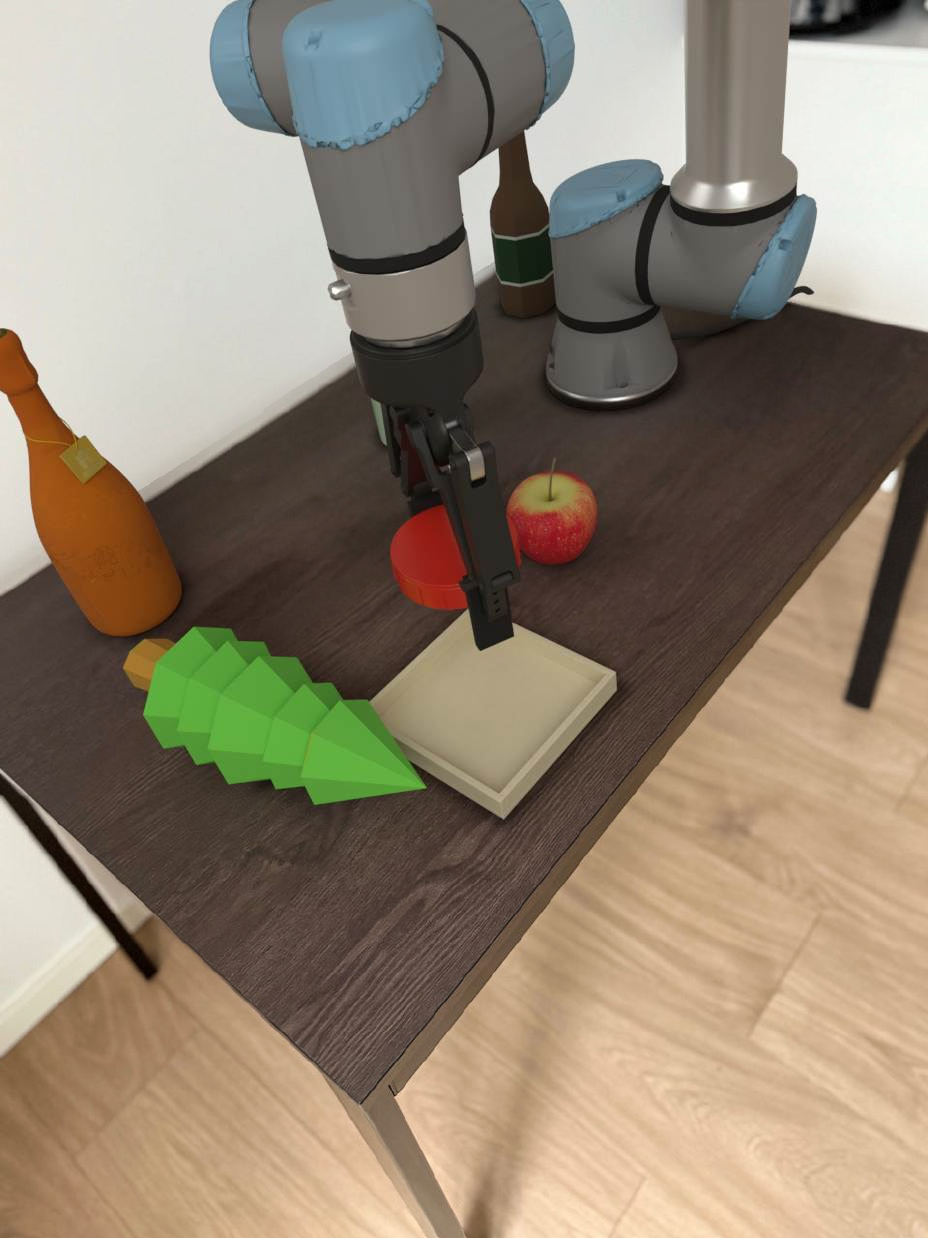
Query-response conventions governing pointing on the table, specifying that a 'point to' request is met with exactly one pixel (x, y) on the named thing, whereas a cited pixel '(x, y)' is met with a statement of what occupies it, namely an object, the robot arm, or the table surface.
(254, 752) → the decorative tree
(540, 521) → the apple
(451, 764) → the tray
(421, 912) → the table surface
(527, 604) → the table surface
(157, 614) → the wine bottle
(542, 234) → the beer bottle
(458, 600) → the lid
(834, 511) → the table surface
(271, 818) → the table surface
